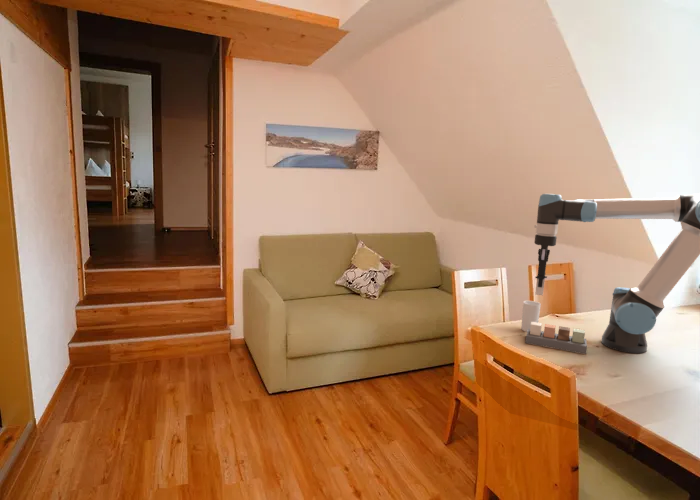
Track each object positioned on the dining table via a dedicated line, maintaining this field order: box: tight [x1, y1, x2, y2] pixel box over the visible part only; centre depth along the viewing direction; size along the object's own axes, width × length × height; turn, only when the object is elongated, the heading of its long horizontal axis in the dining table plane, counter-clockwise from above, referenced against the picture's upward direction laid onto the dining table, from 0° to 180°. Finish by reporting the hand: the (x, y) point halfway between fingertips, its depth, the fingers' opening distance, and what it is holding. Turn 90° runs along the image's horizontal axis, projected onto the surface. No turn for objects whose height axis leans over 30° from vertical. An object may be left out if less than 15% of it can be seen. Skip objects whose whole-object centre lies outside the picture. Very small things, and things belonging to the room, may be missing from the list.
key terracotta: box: [543, 323, 556, 338], centre depth 169 cm, size 4×4×4 cm
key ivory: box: [530, 322, 543, 336], centre depth 171 cm, size 4×4×4 cm
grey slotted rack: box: [525, 329, 588, 355], centre depth 169 cm, size 21×9×3 cm, turn 64°
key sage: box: [571, 327, 586, 343], centre depth 165 cm, size 4×4×4 cm
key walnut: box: [557, 325, 571, 341], centre depth 167 cm, size 4×4×4 cm
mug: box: [520, 300, 542, 333], centre depth 185 cm, size 10×7×12 cm, turn 138°
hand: (539, 294), depth 169 cm, fingers closed
